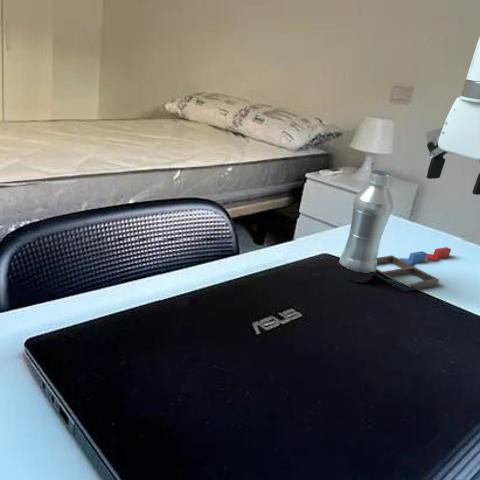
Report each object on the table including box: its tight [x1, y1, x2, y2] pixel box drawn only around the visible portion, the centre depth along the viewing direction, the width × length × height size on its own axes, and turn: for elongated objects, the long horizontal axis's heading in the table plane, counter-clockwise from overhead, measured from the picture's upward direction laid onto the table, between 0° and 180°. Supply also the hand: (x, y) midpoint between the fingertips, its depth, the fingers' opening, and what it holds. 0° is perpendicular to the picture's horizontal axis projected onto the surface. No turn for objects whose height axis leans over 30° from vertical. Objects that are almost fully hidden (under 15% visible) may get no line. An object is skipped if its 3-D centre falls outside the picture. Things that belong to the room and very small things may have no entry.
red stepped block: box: [425, 246, 452, 262], centre depth 102 cm, size 6×2×2 cm, turn 116°
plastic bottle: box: [338, 169, 395, 273], centre depth 87 cm, size 6×7×20 cm
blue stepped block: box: [399, 250, 428, 266], centre depth 99 cm, size 6×2×2 cm, turn 116°
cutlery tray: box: [375, 255, 440, 291], centre depth 92 cm, size 9×11×2 cm
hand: (454, 185), depth 95 cm, fingers open, 9 cm apart
